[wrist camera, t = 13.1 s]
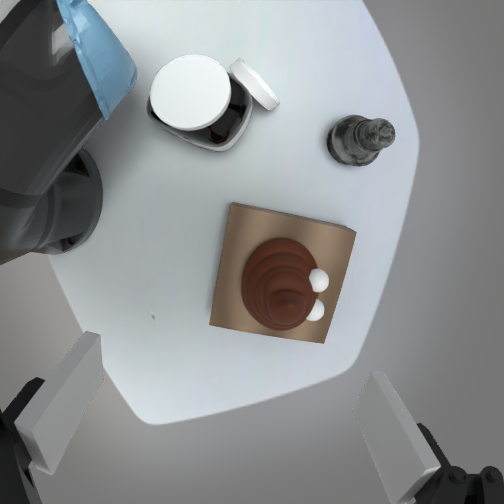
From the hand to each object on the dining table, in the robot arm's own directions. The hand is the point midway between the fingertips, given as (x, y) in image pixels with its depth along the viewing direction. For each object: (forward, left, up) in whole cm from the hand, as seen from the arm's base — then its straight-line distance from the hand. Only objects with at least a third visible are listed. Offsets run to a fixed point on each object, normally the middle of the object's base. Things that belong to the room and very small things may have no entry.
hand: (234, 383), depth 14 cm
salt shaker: (+10, +16, -25) cm, 31 cm away
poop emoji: (+4, -1, -21) cm, 22 cm away
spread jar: (-6, +17, -25) cm, 31 cm away
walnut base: (+5, -1, -25) cm, 25 cm away
